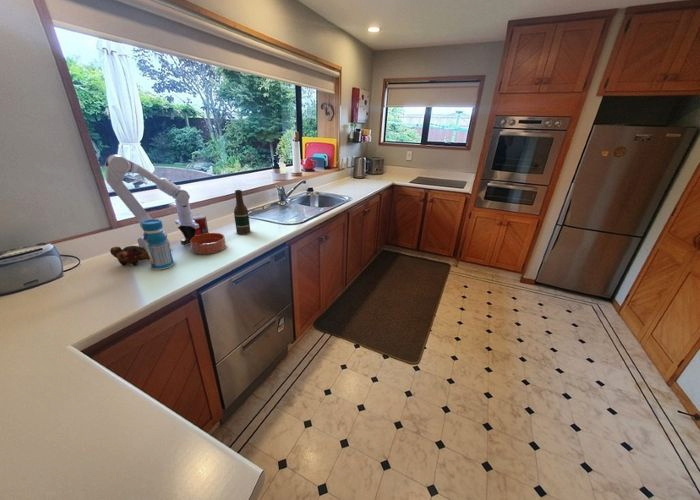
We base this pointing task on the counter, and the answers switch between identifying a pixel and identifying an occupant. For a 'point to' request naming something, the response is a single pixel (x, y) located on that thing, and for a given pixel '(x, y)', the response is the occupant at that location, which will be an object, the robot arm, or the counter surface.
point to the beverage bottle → (157, 244)
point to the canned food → (200, 224)
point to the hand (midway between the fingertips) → (190, 239)
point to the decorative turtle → (130, 254)
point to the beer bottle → (241, 215)
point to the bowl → (208, 243)
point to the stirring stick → (185, 241)
